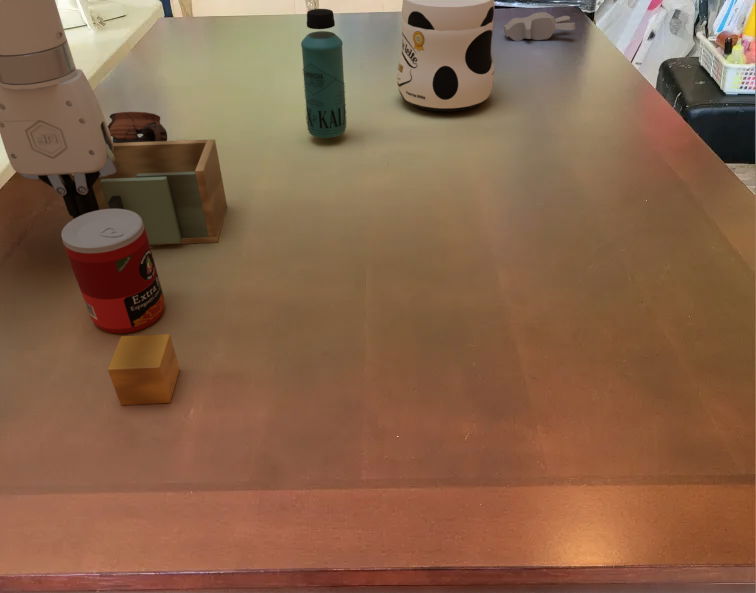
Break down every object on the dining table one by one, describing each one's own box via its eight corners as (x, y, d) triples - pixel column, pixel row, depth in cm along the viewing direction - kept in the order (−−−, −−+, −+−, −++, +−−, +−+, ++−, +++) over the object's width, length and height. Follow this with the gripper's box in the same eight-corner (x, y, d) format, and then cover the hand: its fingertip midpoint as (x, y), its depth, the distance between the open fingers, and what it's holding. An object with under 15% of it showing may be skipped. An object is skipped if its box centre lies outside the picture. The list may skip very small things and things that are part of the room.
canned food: (147, 339, 68) (120, 250, 62) (77, 331, 70) (43, 244, 63) (178, 295, 74) (156, 210, 68) (113, 289, 76) (85, 205, 69)
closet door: (115, 252, 80) (95, 188, 75) (120, 242, 82) (101, 178, 77) (178, 250, 80) (162, 185, 75) (181, 239, 82) (166, 176, 77)
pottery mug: (94, 167, 102) (91, 113, 101) (144, 171, 110) (141, 121, 109) (146, 163, 96) (143, 105, 95) (195, 167, 104) (192, 114, 103)
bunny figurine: (502, 14, 152) (568, 5, 150) (502, 37, 155) (567, 28, 153) (507, 25, 144) (577, 16, 143) (508, 49, 147) (576, 40, 146)
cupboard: (90, 247, 83) (65, 175, 77) (110, 212, 90) (89, 143, 84) (217, 242, 83) (203, 170, 77) (227, 207, 90) (215, 139, 84)
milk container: (377, 100, 121) (375, -4, 110) (443, 78, 130) (447, -21, 119) (444, 127, 110) (449, 15, 100) (511, 101, 119) (523, -5, 108)
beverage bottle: (314, 130, 111) (303, 3, 99) (352, 132, 110) (346, 5, 98) (302, 146, 106) (290, 15, 94) (342, 149, 105) (335, 16, 92)
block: (120, 405, 61) (107, 369, 58) (133, 371, 65) (121, 335, 62) (170, 403, 61) (159, 367, 58) (180, 369, 65) (170, 333, 62)
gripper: (-59, 79, 64) (11, 239, 75) (96, 72, 64) (142, 233, 75) (-24, 55, 70) (35, 207, 81) (117, 49, 70) (157, 201, 81)
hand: (87, 219), depth 78 cm, fingers closed
